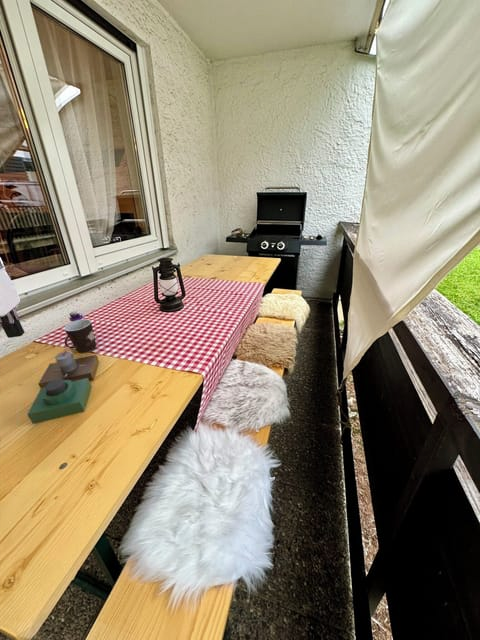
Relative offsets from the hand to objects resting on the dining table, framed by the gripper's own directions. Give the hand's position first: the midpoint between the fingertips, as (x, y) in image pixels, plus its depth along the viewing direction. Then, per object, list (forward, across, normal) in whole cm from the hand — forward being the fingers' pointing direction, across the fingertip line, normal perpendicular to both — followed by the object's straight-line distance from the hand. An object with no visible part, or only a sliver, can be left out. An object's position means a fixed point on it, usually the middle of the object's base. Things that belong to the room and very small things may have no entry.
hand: (16, 335), depth 67 cm
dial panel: (+20, -6, +6) cm, 21 cm away
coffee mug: (+20, -21, +5) cm, 30 cm away
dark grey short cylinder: (+15, +7, +7) cm, 18 cm away
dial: (+17, -6, +6) cm, 19 cm away
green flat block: (+20, +7, +7) cm, 22 cm away
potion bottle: (+20, -29, +4) cm, 35 cm away
